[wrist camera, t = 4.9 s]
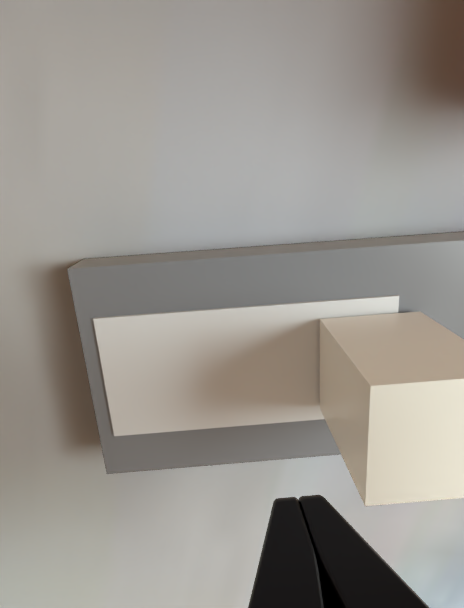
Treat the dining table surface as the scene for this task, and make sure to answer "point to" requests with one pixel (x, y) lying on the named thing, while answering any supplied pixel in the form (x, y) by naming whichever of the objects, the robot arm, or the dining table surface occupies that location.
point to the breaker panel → (239, 341)
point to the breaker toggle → (395, 405)
